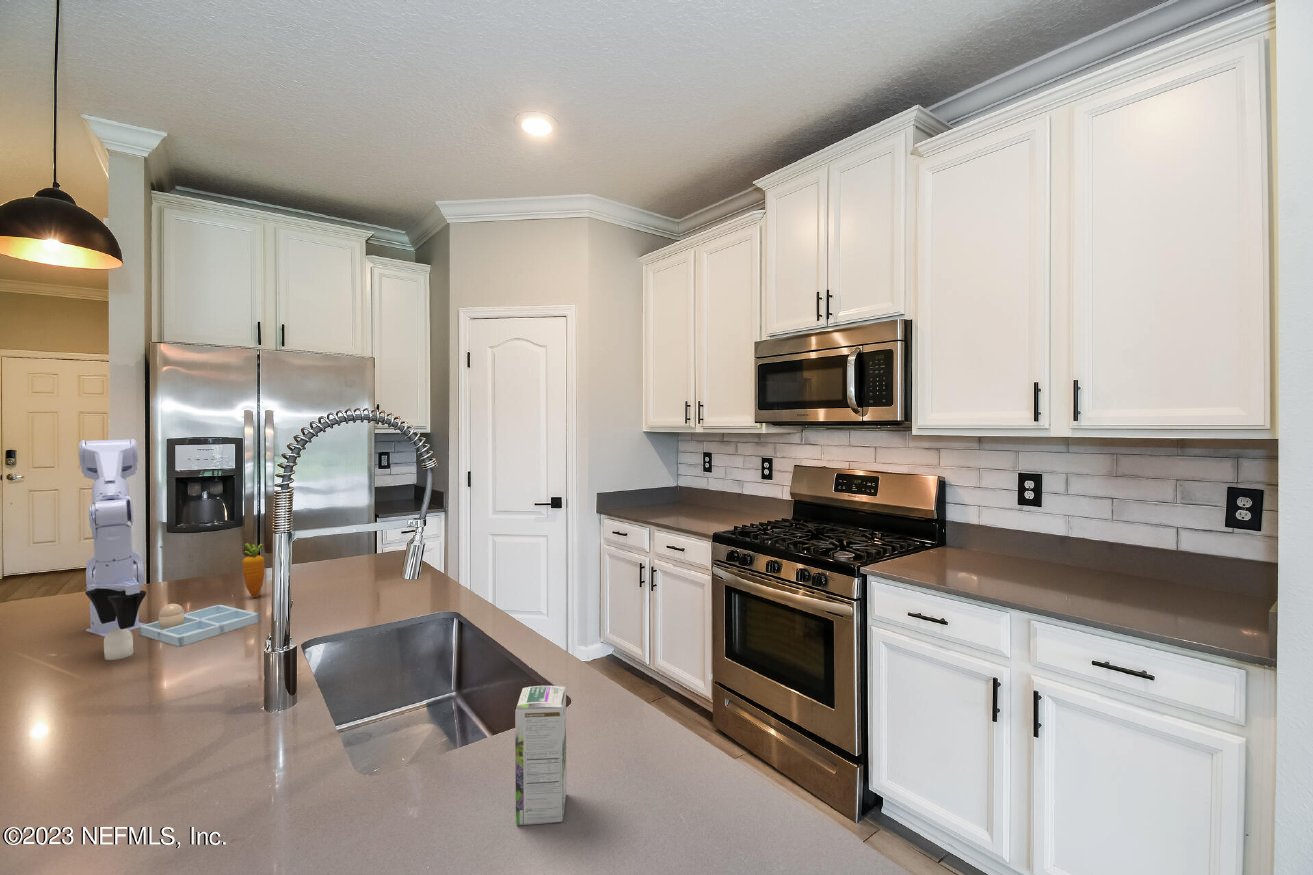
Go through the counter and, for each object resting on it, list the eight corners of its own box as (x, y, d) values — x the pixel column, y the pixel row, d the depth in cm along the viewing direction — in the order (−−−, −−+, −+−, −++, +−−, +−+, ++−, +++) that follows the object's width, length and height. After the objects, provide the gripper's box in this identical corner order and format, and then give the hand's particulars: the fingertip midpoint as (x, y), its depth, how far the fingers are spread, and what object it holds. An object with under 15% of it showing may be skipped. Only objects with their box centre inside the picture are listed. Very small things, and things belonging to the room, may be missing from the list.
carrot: (270, 595, 164) (268, 540, 164) (256, 600, 159) (254, 544, 159) (253, 594, 165) (251, 540, 164) (239, 600, 160) (236, 544, 159)
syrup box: (522, 796, 77) (519, 685, 77) (568, 793, 78) (566, 683, 77) (515, 826, 72) (512, 708, 71) (565, 823, 72) (563, 705, 72)
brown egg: (155, 632, 135) (154, 605, 135) (178, 626, 139) (176, 599, 139) (166, 635, 133) (164, 608, 133) (188, 629, 137) (187, 602, 137)
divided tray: (139, 637, 134) (139, 626, 134) (219, 614, 149) (219, 604, 149) (179, 649, 127) (179, 637, 127) (259, 624, 142) (259, 613, 142)
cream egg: (100, 660, 122) (98, 630, 122) (127, 652, 126) (125, 623, 125) (111, 664, 120) (109, 633, 120) (138, 656, 124) (136, 626, 124)
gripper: (71, 559, 121) (75, 626, 122) (106, 567, 115) (110, 636, 116) (114, 552, 128) (118, 615, 128) (150, 558, 121) (154, 625, 122)
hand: (117, 624), depth 122 cm, fingers open, 7 cm apart
